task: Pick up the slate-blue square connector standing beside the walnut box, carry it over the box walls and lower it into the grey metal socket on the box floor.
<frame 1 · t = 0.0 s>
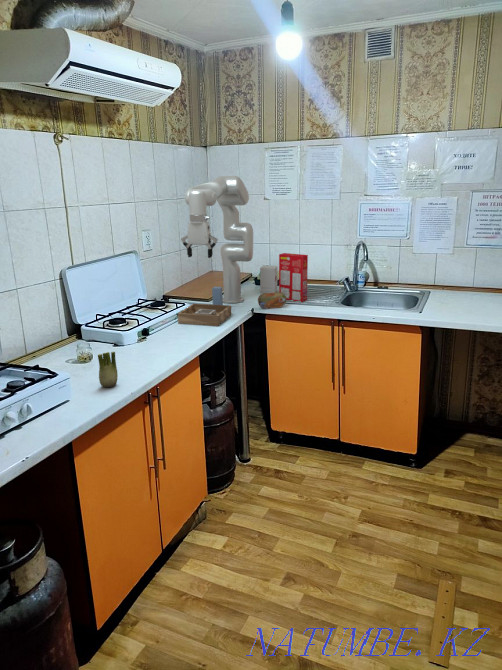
hand: (200, 257, 236), 31 cm above the worktop, tool pointing down, fingers open, 9 cm apart
walled box: (205, 319, 251), on the worktop
connector: (218, 310, 268), on the worktop
food packaging: (292, 300, 287), on the worktop
brown snack packet: (272, 308, 271), on the worktop
fennel bulb: (109, 386, 174), on the worktop
supplement box: (269, 291, 308), on the worktop
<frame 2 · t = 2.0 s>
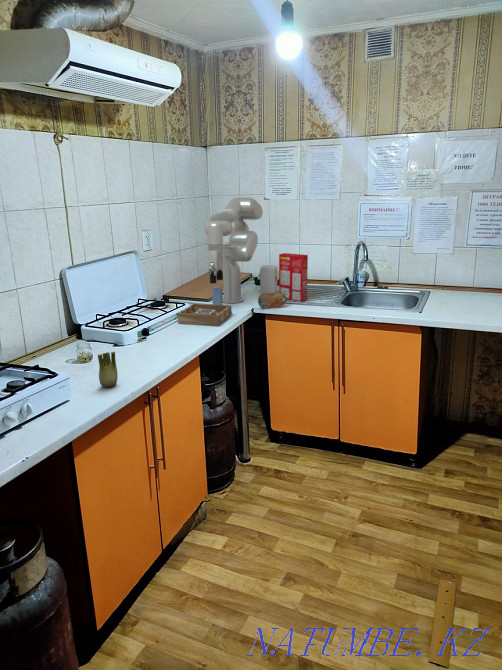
hand: (216, 281, 263), 15 cm above the worktop, tool pointing down, fingers open, 9 cm apart
nothing on the worktop moved.
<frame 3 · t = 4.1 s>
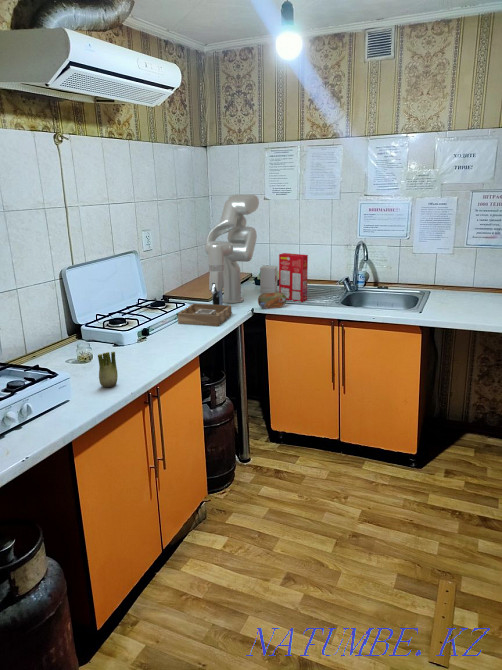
hand: (217, 303, 267), 4 cm above the worktop, tool pointing down, fingers closed on connector, 4 cm apart
connector: (218, 310, 268), on the worktop, touching gripper
everything else where it was.
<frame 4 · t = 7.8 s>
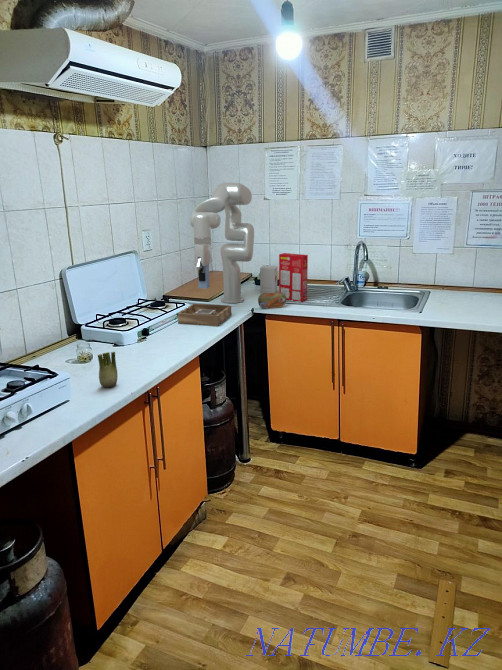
hand: (204, 279, 246), 19 cm above the worktop, tool pointing down, fingers closed on connector, 4 cm apart
connector: (204, 287, 247), point 16 cm above the worktop, touching gripper
everything else where it was.
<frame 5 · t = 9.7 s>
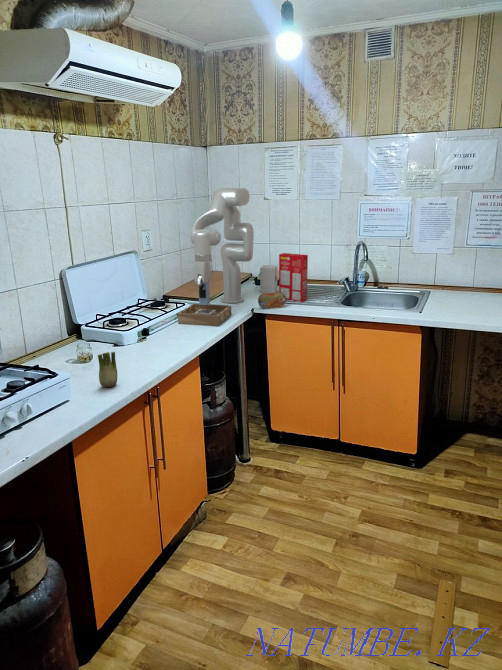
hand: (204, 296, 248), 12 cm above the worktop, tool pointing down, fingers closed on connector, 4 cm apart
connector: (204, 303, 249), point 8 cm above the worktop, touching gripper
everything else where it was.
when the fingers open (7 cm above the worktop, at t = 11.6 s): connector drops 2 cm, resting on walled box.
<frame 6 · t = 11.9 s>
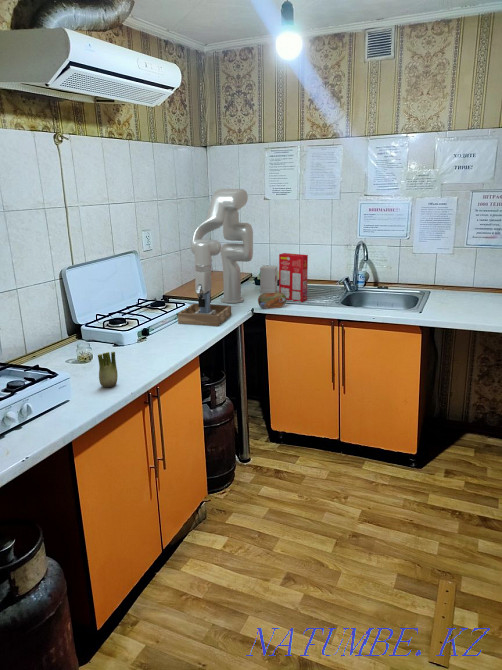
hand: (204, 304, 249), 7 cm above the worktop, tool pointing down, fingers open, 7 cm apart
connector: (205, 317, 251), point 1 cm above the worktop, touching walled box
everything else where it was.
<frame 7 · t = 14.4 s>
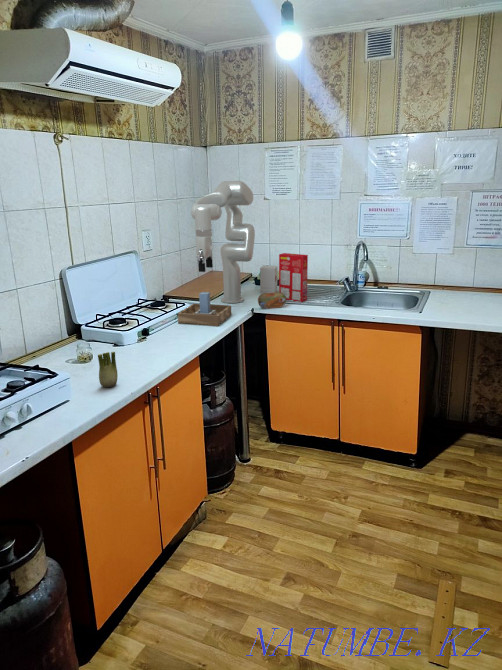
hand: (205, 269, 247), 24 cm above the worktop, tool pointing down, fingers open, 9 cm apart
nothing on the worktop moved.
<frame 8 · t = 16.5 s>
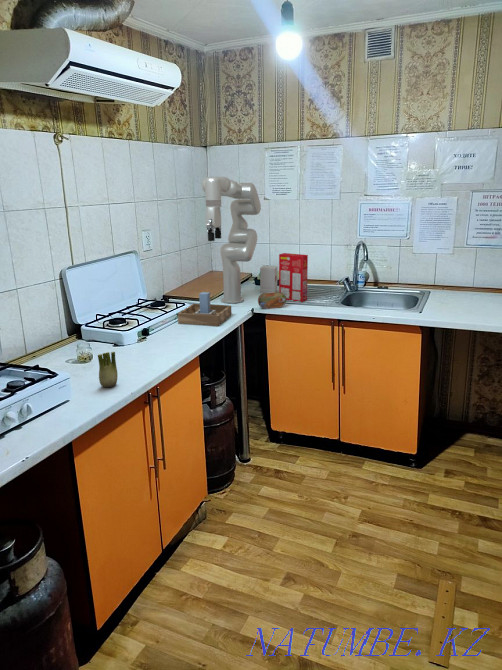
hand: (214, 239, 256), 36 cm above the worktop, tool pointing down, fingers open, 9 cm apart
nothing on the worktop moved.
at the end: connector 0.1 cm off-centre on the walled box, point 1.0 cm above the walled box's base; connector tilted 0°; the gripper is holding nothing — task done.
